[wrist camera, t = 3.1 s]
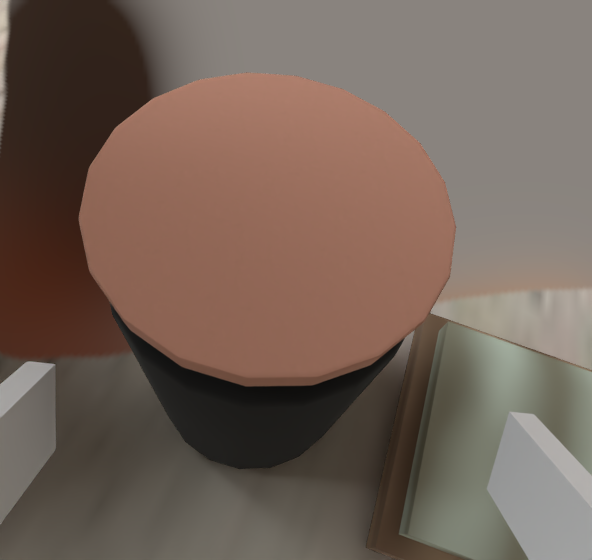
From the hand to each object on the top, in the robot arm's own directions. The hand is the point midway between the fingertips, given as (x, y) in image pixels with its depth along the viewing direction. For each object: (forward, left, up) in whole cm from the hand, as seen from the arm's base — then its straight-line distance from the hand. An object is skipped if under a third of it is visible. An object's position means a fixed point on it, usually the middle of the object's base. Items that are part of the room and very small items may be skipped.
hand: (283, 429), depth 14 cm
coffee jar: (-2, +5, -15) cm, 16 cm away
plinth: (+14, +6, -15) cm, 21 cm away
